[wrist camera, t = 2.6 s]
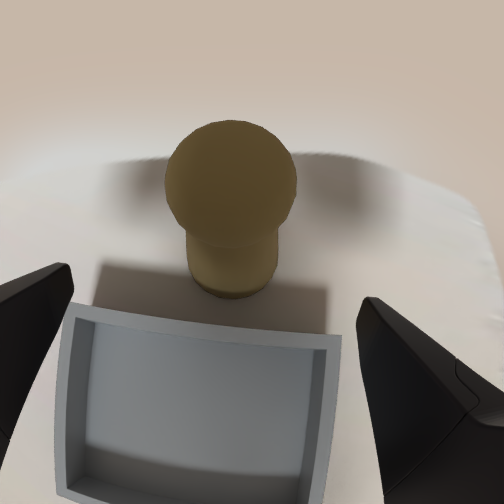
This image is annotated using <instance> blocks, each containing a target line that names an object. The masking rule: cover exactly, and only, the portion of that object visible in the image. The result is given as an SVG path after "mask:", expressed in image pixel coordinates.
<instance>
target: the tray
mask: <svg viewBox="0 0 504 504" xmlns="http://www.w3.org/2000/svg"><path fill="white" fill-rule="evenodd" d="M341 342H342V335H327V334H311V333H297V332H284V331H272V330H261V329H250V328H240V327H231V326H222V325H213V324H205V323H197V322H189V321H182V320H174V319H167V318H160V317H154V316H147V315H141V314H135V313H128V312H122V311H117V310H111V309H105V308H100V307H94V306H89V305H84V304H79V303H74V302H70V303H69V305H68V307H67V310H66V312H65V315H64V320H63V327H62V334H61V341H60V350H59V359H58V369H57V380H56V395H55V418H54V457H55V480H56V493H57V495H59V496H62V497H64V498H67V499H69V500H72V501H74V502H77V503H80V504H322V501H323V495H324V489H325V484H326V478H327V471H328V465H329V458H330V451H331V444H332V437H333V429H334V420H335V412H336V402H337V392H338V382H339V370H340V357H341Z"/></svg>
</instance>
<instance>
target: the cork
mask: <svg viewBox="0 0 504 504" xmlns="http://www.w3.org/2000/svg"><path fill="white" fill-rule="evenodd" d="M296 184H297V176H296V169H295V166H294V163H293V161H292V158H291V155H290V153H289V152H288V150H287V149H286V148H285V147H284V145H283V144H282V143H281V142H280V140H279V139H278V138H277V137H276V136H274V135H273V134H272V133H270V132H269V131H267V130H266V129H264V128H263V127H261V126H258V125H255V124H252V123H249V122H246V121H236V120H226V121H219V122H213V123H210V124H207V125H205V126H203V127H201V128H198V129H196V130H195V131H194V132H192V133H191V134H190V135H189V136H187V137H186V138H185V139H184V140H183V141H182V142H181V143H180V144H179V145H178V147H177V148H176V150H175V151H174V153H173V154H172V156H171V157H170V159H169V163H168V167H167V171H166V175H165V190H166V198H167V202H168V205H169V207H170V209H171V211H172V213H173V214H174V216H175V218H176V220H177V222H178V224H179V225H181V226H182V227H183V228H184V229H185V230H186V250H187V260H188V266H189V270H190V272H191V274H192V276H193V277H194V279H195V281H196V282H197V283H198V284H199V285H200V286H201V287H202V288H203V289H204V290H205V291H207V292H209V293H211V294H213V295H215V296H218V297H220V298H229V299H238V298H243V297H248V296H251V295H252V294H254V293H256V292H257V291H259V290H261V289H262V288H263V287H264V286H265V285H266V284H267V283H268V282H269V281H270V279H271V278H272V276H273V274H274V272H275V269H276V267H277V261H278V227H279V226H280V225H281V224H282V223H283V222H284V221H285V220H286V218H287V216H288V214H289V211H290V209H291V206H292V204H293V202H294V199H295V197H296Z"/></svg>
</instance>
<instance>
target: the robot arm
mask: <svg viewBox="0 0 504 504" xmlns="http://www.w3.org/2000/svg"><path fill="white" fill-rule="evenodd" d="M73 293H74V284H73V279H72V274H71V269H70V266H69V265H68V264H66V263H59V262H57V263H54V264H52V265H49V266H47V267H44V268H42V269H39V270H37V271H34V272H32V273H29V274H27V275H24V276H22V277H19V278H17V279H14V280H12V281H10V282H7V283H5V284H2V285H0V470H1V466H2V463H3V460H4V457H5V454H6V451H7V448H8V445H9V442H10V439H11V436H12V434H13V431H14V428H15V426H16V423H17V421H18V418H19V415H20V413H21V410H22V408H23V405H24V403H25V401H26V398H27V396H28V394H29V391H30V389H31V387H32V384H33V382H34V380H35V378H36V375H37V373H38V371H39V369H40V367H41V365H42V362H43V360H44V358H45V356H46V354H47V352H48V350H49V348H50V346H51V344H52V342H53V340H54V338H55V336H56V334H57V332H58V330H59V327H60V325H61V322H62V320H63V317H64V315H65V312H66V310H67V307H68V305H69V303H70V300H71V298H72V296H73ZM356 332H357V340H358V349H359V359H360V367H361V373H362V378H363V382H364V387H365V392H366V397H367V402H368V407H369V412H370V417H371V422H372V427H373V433H374V438H375V444H376V450H377V456H378V462H379V468H380V475H381V482H382V489H383V495H384V504H504V392H503V391H501V390H500V389H498V388H497V387H495V386H494V385H493V384H491V383H490V382H488V381H487V380H485V379H484V378H483V377H481V376H480V375H478V374H477V373H476V372H474V371H473V370H472V369H471V368H469V367H468V366H467V365H465V364H464V363H463V362H462V361H460V360H459V359H458V358H456V357H455V356H454V355H453V354H451V353H450V352H449V351H447V350H446V349H445V348H444V347H442V346H441V345H440V344H438V343H437V342H436V341H435V340H433V339H432V338H431V337H429V336H428V335H427V334H426V333H424V332H423V331H422V330H420V329H419V328H418V327H416V326H415V325H414V324H412V323H411V322H410V321H408V320H407V319H406V318H404V317H403V316H402V315H401V314H399V313H398V312H397V311H395V310H394V309H393V308H391V307H390V306H389V305H387V304H386V303H384V302H383V301H382V300H380V299H379V298H377V297H366V298H364V300H363V302H362V305H361V308H360V311H359V314H358V316H357V320H356Z"/></svg>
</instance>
